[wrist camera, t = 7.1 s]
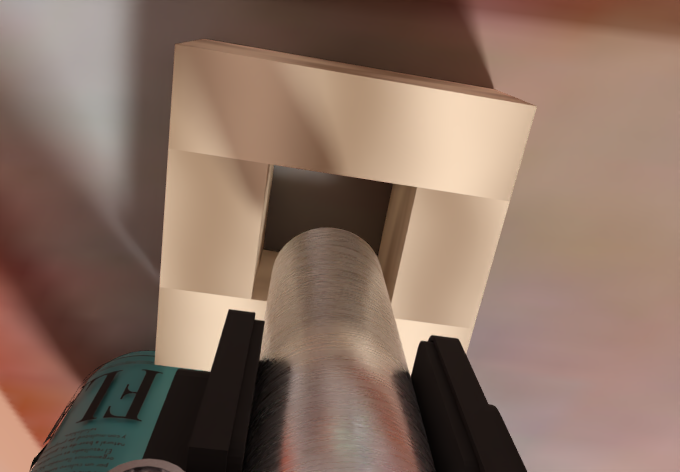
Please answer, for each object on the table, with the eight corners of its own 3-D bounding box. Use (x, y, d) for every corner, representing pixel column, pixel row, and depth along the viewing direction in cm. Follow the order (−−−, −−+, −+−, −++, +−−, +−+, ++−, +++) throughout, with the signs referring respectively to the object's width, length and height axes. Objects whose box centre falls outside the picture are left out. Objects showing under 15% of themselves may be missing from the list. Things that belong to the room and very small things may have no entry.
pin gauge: (392, 236, 16) (726, 1171, 3) (371, 334, 17) (550, 1329, 4) (279, 220, 16) (111, 1186, 3) (265, 320, 17) (97, 1353, 4)
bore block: (494, 89, 22) (536, 106, 18) (430, 337, 26) (452, 400, 21) (203, 38, 21) (174, 43, 17) (182, 305, 25) (154, 364, 20)
